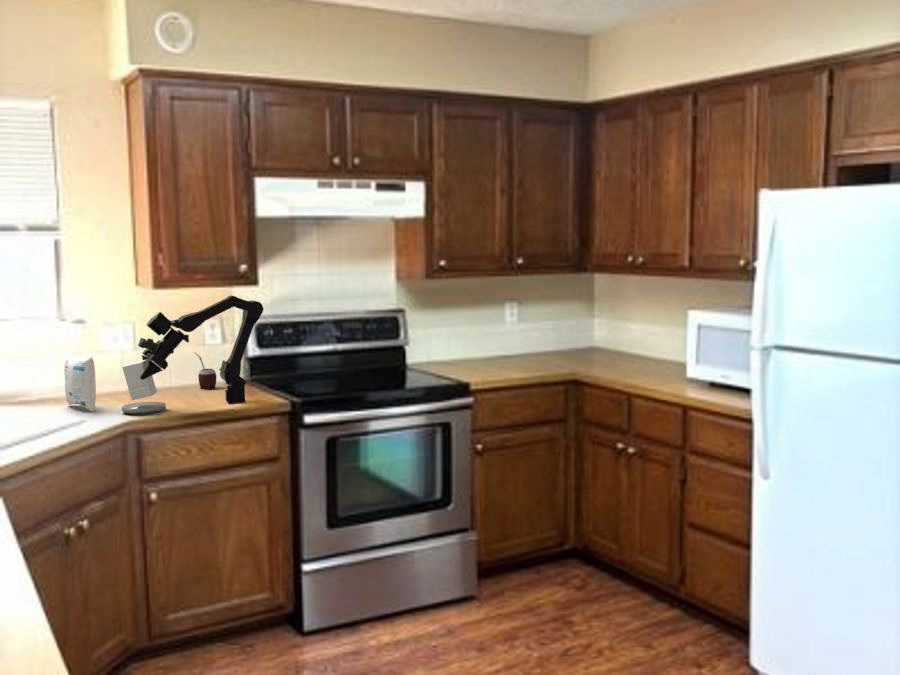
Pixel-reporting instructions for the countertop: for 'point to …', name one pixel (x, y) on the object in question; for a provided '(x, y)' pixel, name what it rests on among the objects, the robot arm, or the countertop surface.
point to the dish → (143, 407)
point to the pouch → (80, 381)
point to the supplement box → (138, 380)
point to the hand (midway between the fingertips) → (138, 377)
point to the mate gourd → (206, 377)
